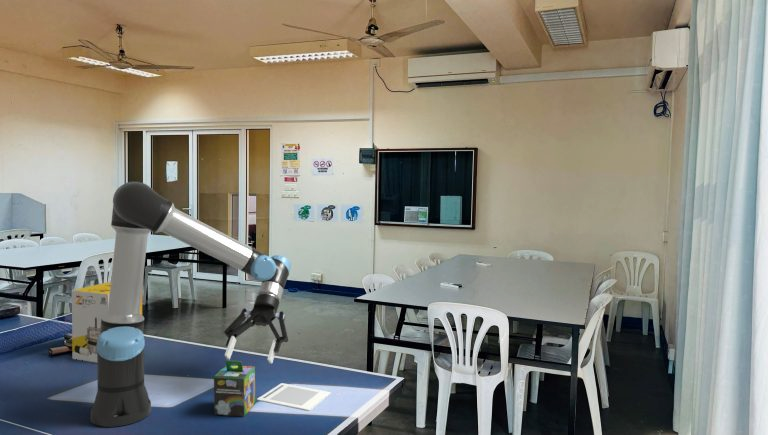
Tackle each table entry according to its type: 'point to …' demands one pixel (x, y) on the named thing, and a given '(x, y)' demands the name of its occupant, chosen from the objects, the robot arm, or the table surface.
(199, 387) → the table surface
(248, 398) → the chalk box
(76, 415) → the table surface
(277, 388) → the white tray
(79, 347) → the packaging box
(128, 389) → the robot arm
